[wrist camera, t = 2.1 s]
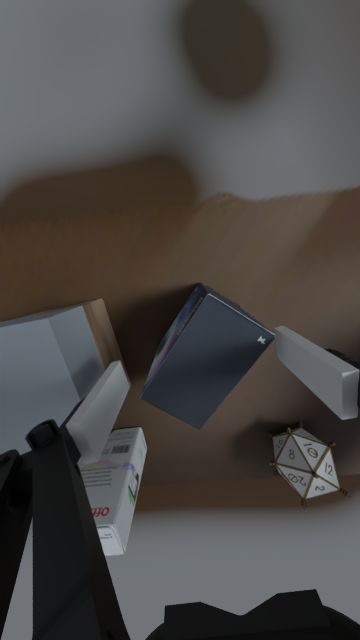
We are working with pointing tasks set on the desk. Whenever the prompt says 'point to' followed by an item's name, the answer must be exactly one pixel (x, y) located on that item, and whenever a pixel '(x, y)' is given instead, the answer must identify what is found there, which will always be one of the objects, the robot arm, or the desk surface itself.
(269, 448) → the desk surface
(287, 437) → the game die
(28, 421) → the grey slab
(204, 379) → the small box
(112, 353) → the walnut slab
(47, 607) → the robot arm
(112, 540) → the ink box
